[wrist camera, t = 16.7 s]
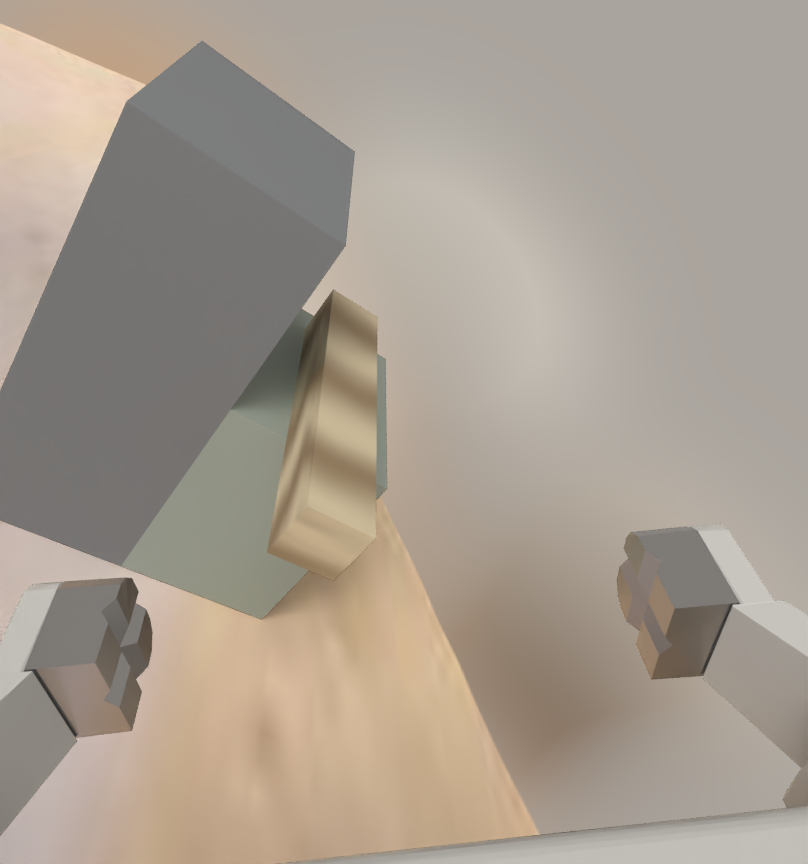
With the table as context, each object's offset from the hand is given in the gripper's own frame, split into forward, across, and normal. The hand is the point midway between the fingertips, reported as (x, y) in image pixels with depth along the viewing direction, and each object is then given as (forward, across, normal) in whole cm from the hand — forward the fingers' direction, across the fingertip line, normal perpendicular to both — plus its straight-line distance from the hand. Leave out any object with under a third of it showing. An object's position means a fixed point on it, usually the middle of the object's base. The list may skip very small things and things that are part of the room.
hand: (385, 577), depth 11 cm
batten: (+24, -3, -14) cm, 28 cm away
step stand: (+30, -16, -23) cm, 41 cm away
